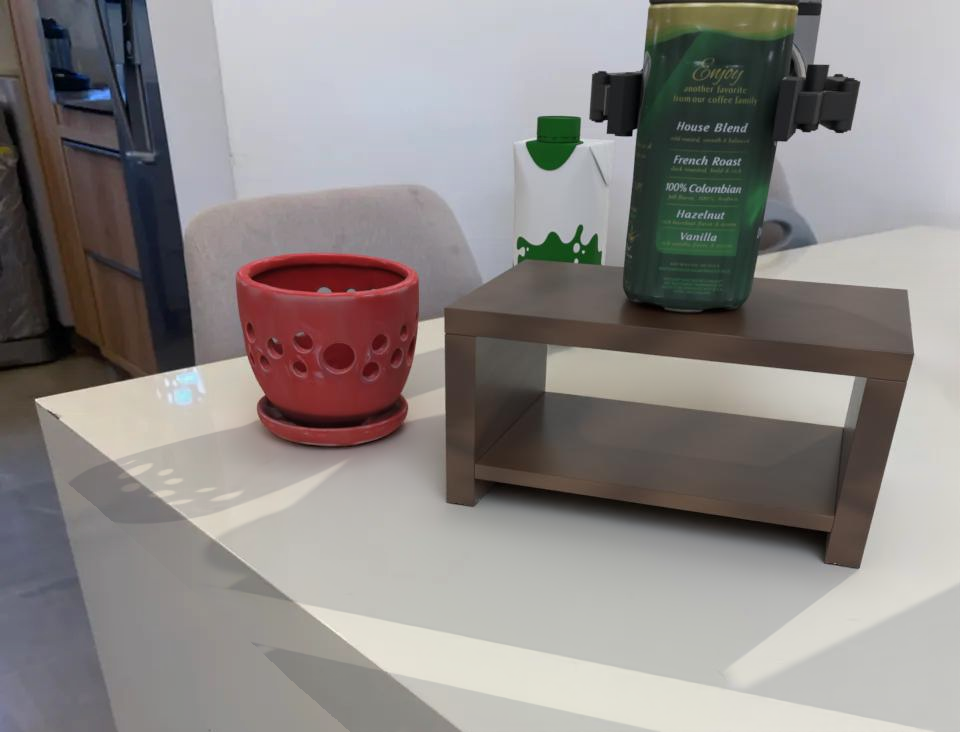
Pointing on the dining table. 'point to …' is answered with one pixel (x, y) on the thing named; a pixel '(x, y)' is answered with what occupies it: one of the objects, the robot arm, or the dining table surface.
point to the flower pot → (329, 344)
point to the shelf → (673, 430)
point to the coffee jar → (704, 149)
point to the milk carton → (561, 194)
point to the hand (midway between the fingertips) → (697, 108)
